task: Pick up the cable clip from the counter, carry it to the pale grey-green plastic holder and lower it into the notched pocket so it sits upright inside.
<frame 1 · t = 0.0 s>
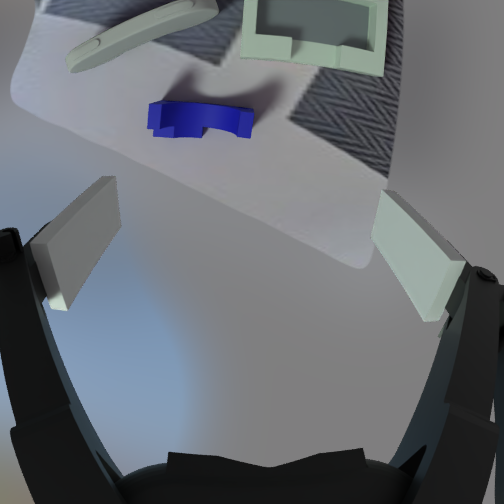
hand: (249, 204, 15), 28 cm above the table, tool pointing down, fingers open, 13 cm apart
cable clip: (204, 119, 39), on the table
holder: (313, 19, 31), on the table
slide sandal: (147, 36, 32), on the table
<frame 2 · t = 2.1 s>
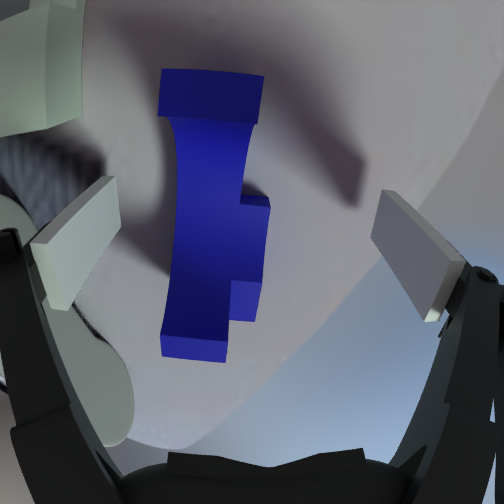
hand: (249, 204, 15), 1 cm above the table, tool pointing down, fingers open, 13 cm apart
cable clip: (225, 190, 16), on the table
slide sandal: (69, 297, 20), on the table
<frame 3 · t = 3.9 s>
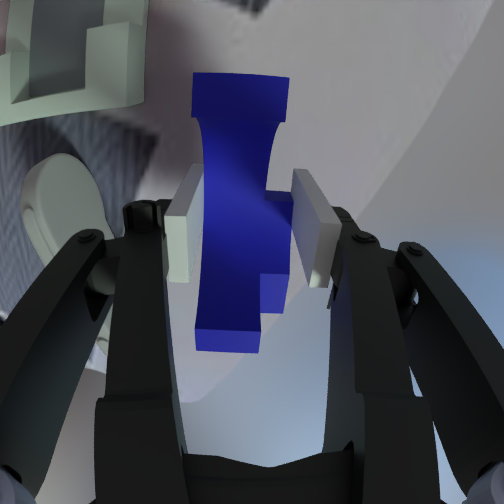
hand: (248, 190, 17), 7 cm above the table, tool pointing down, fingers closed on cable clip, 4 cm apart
cable clip: (248, 187, 17), point 6 cm above the table, touching gripper
holder: (72, 8, 15), on the table
slide sandal: (116, 245, 27), on the table
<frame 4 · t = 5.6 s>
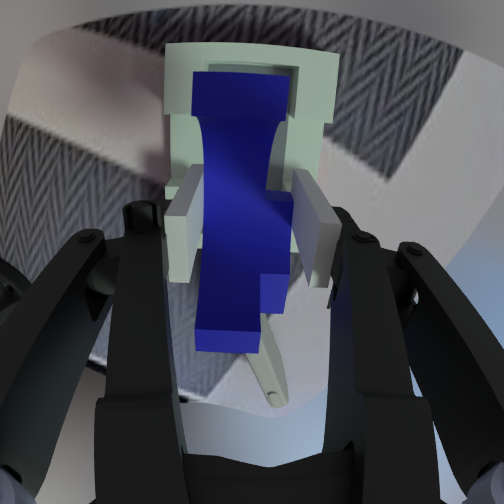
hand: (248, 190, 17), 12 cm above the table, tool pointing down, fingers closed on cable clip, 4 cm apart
cable clip: (248, 187, 17), point 12 cm above the table, touching gripper
holder: (245, 144, 27), on the table
slide sandal: (261, 321, 38), on the table
when the fingers open (2 cm above the table, at t = 7.6 s): cable clip stays where it is, resting on holder.
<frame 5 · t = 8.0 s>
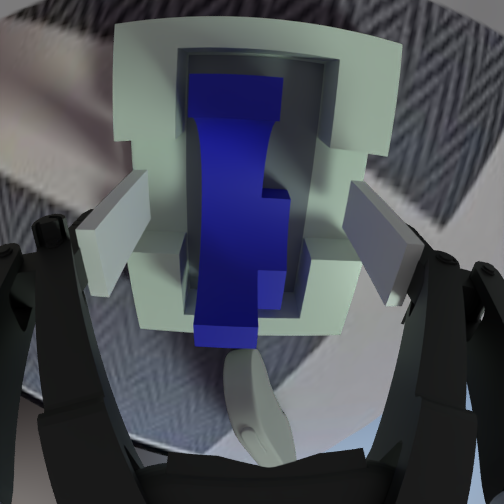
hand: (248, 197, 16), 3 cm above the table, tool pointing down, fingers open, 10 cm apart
cable clip: (246, 185, 17), point 1 cm above the table, touching holder
holder: (248, 180, 18), on the table
slide sandal: (266, 391, 29), on the table
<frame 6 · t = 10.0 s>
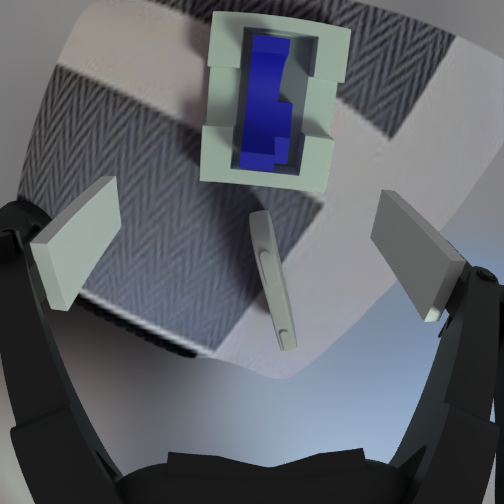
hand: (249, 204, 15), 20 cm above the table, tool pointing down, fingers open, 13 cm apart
cable clip: (269, 99, 30), point 1 cm above the table, touching holder
holder: (271, 99, 31), on the table
slide sandal: (274, 267, 42), on the table
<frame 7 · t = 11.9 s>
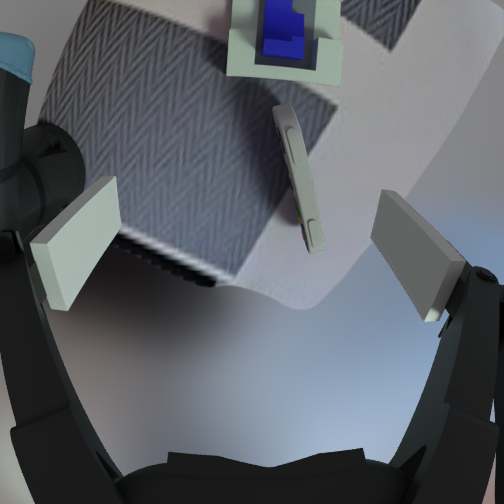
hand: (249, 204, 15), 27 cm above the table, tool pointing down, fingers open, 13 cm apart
cable clip: (283, 14, 30), point 1 cm above the table, touching holder
holder: (285, 15, 30), on the table
slide sandal: (294, 171, 42), on the table
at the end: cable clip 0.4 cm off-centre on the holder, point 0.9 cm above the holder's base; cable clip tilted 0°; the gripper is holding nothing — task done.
